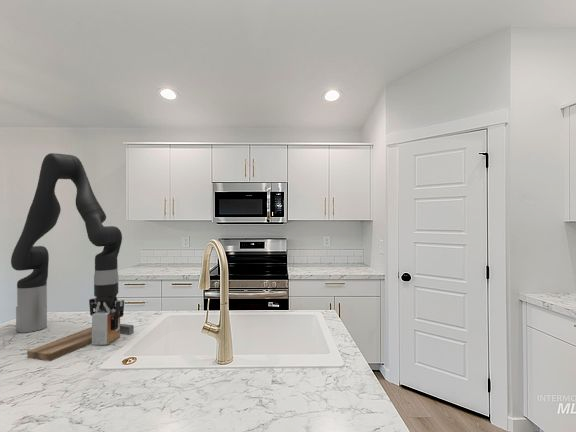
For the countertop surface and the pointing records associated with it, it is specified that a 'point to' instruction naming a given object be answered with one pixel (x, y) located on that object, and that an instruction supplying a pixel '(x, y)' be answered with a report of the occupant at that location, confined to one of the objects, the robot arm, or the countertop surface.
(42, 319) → the robot arm
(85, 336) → the plank
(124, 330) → the block
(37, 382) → the countertop surface
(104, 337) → the small box
